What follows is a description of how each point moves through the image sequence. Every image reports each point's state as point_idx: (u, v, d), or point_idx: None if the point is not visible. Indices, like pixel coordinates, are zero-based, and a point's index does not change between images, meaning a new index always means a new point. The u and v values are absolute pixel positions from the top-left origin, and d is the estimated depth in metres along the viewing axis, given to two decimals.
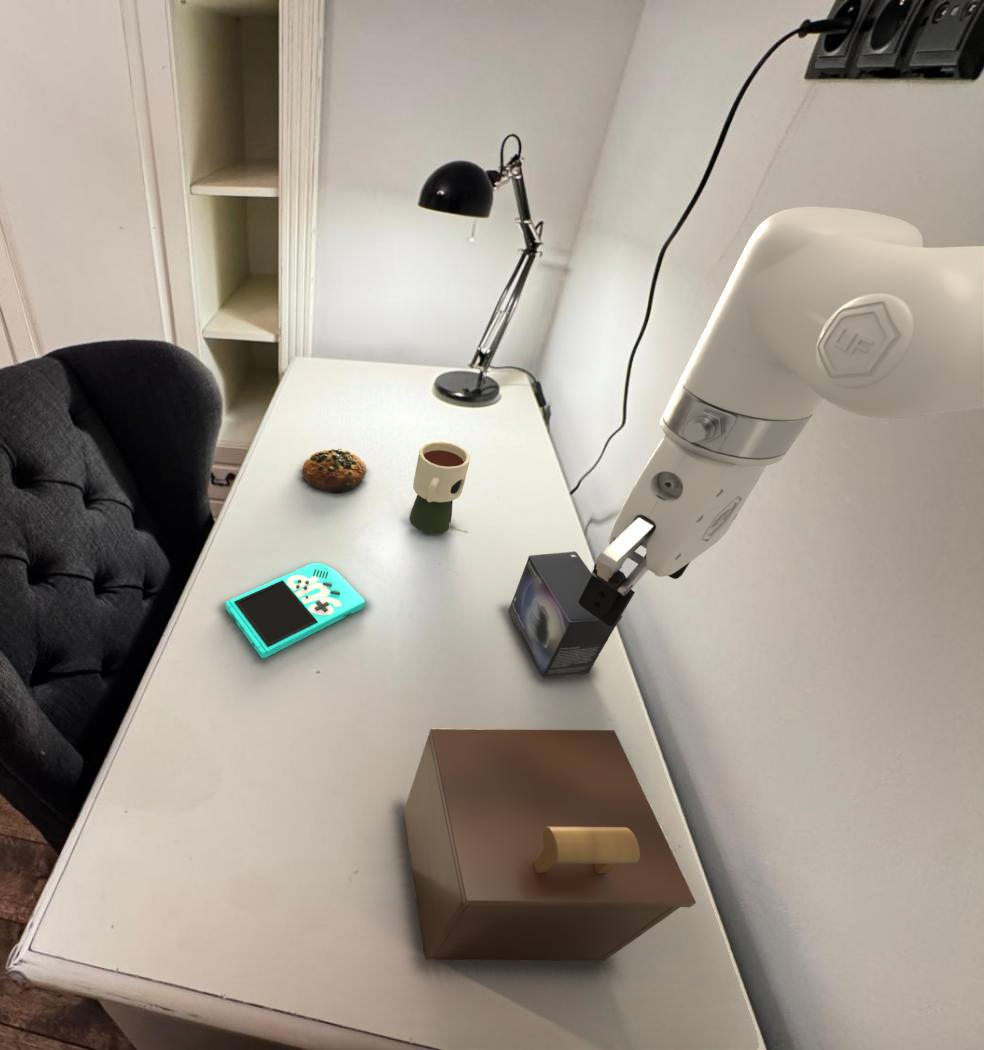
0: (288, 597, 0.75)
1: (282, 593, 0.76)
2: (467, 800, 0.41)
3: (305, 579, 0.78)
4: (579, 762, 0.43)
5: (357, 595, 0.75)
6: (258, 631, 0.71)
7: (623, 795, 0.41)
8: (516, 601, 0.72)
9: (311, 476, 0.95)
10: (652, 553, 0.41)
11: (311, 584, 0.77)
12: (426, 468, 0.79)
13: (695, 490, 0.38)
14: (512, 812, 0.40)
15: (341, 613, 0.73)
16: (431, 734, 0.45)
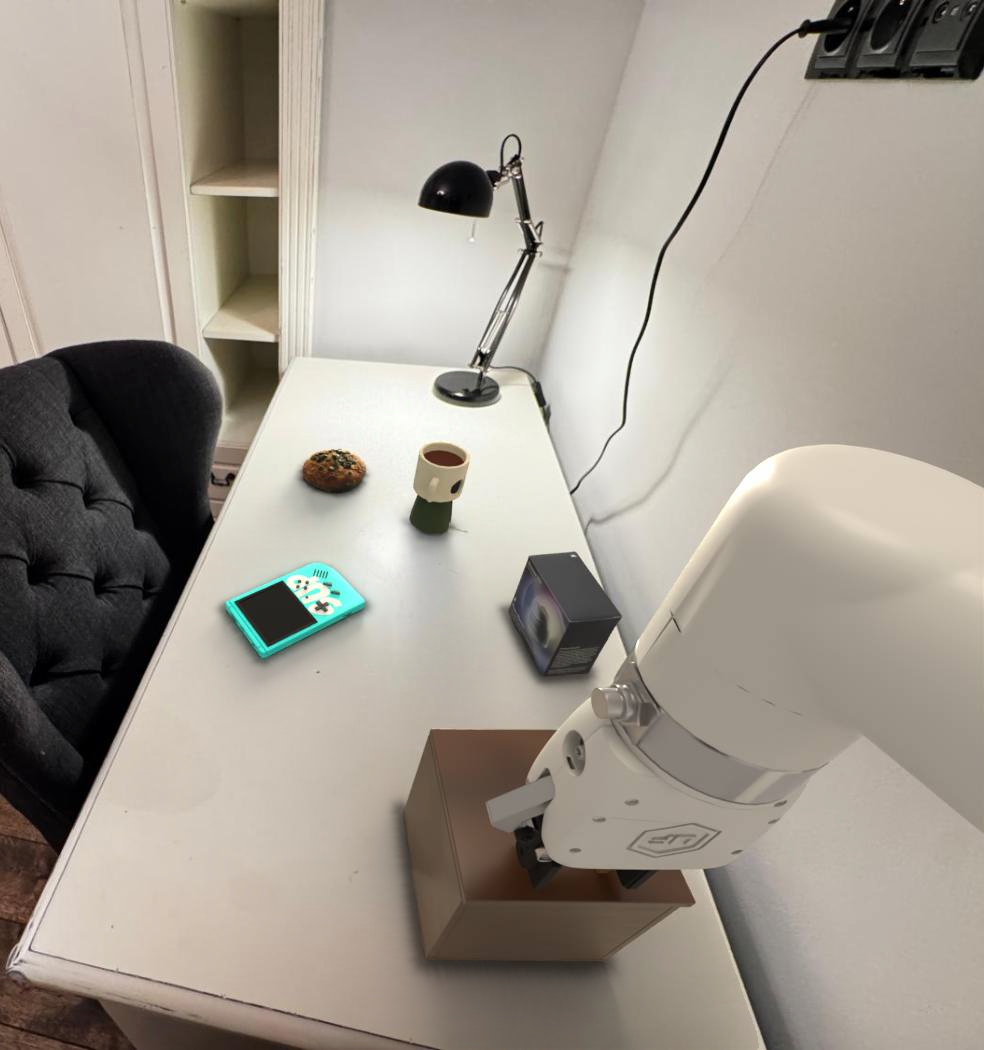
0: (288, 597, 0.75)
1: (282, 593, 0.76)
2: (467, 800, 0.41)
3: (305, 579, 0.78)
4: None
5: (357, 595, 0.75)
6: (258, 631, 0.71)
7: None
8: (516, 601, 0.72)
9: (311, 476, 0.95)
10: None
11: (311, 584, 0.77)
12: (426, 468, 0.79)
13: (595, 779, 0.26)
14: None
15: (341, 613, 0.73)
16: (431, 734, 0.45)
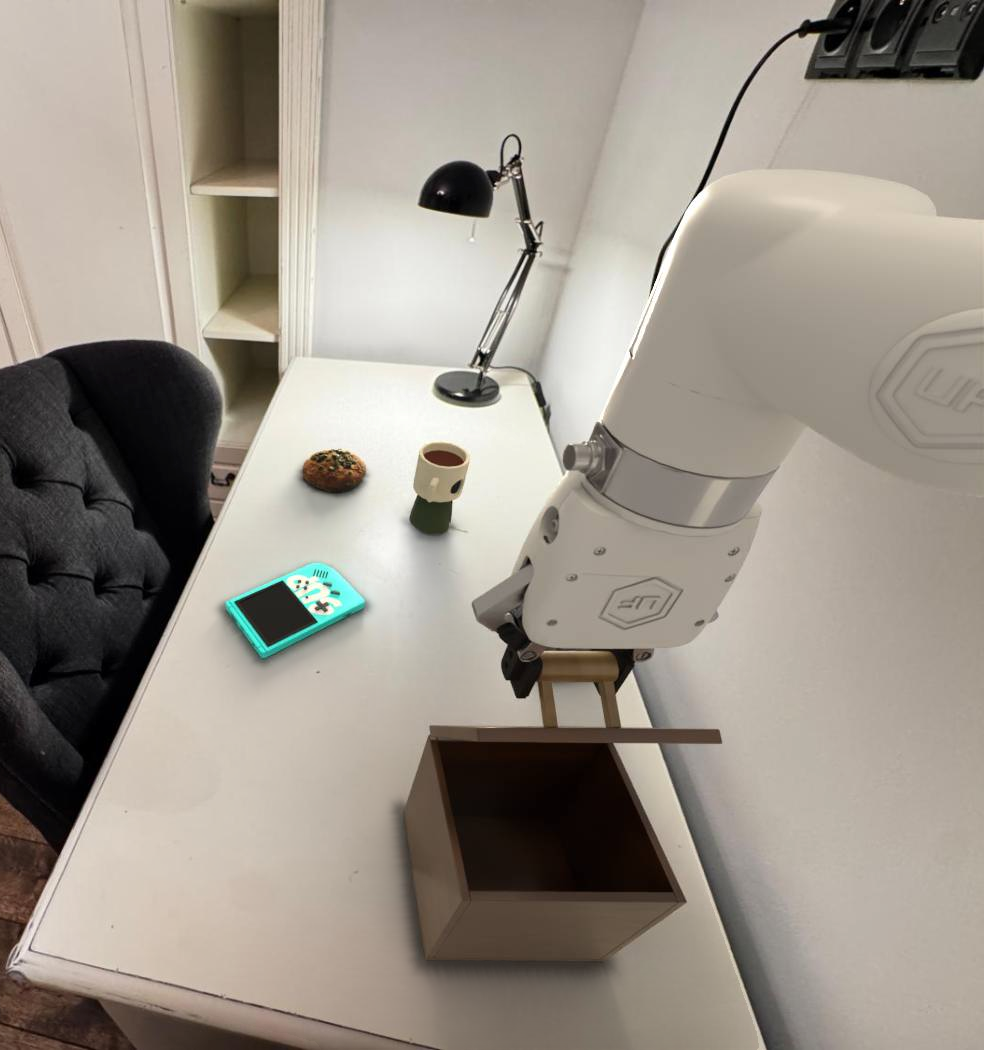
0: (288, 597, 0.75)
1: (282, 593, 0.76)
2: None
3: (305, 579, 0.78)
4: None
5: (357, 595, 0.75)
6: (258, 631, 0.71)
7: None
8: None
9: (311, 476, 0.95)
10: None
11: (311, 584, 0.77)
12: (426, 468, 0.79)
13: (567, 536, 0.29)
14: None
15: (341, 613, 0.73)
16: (430, 727, 0.45)
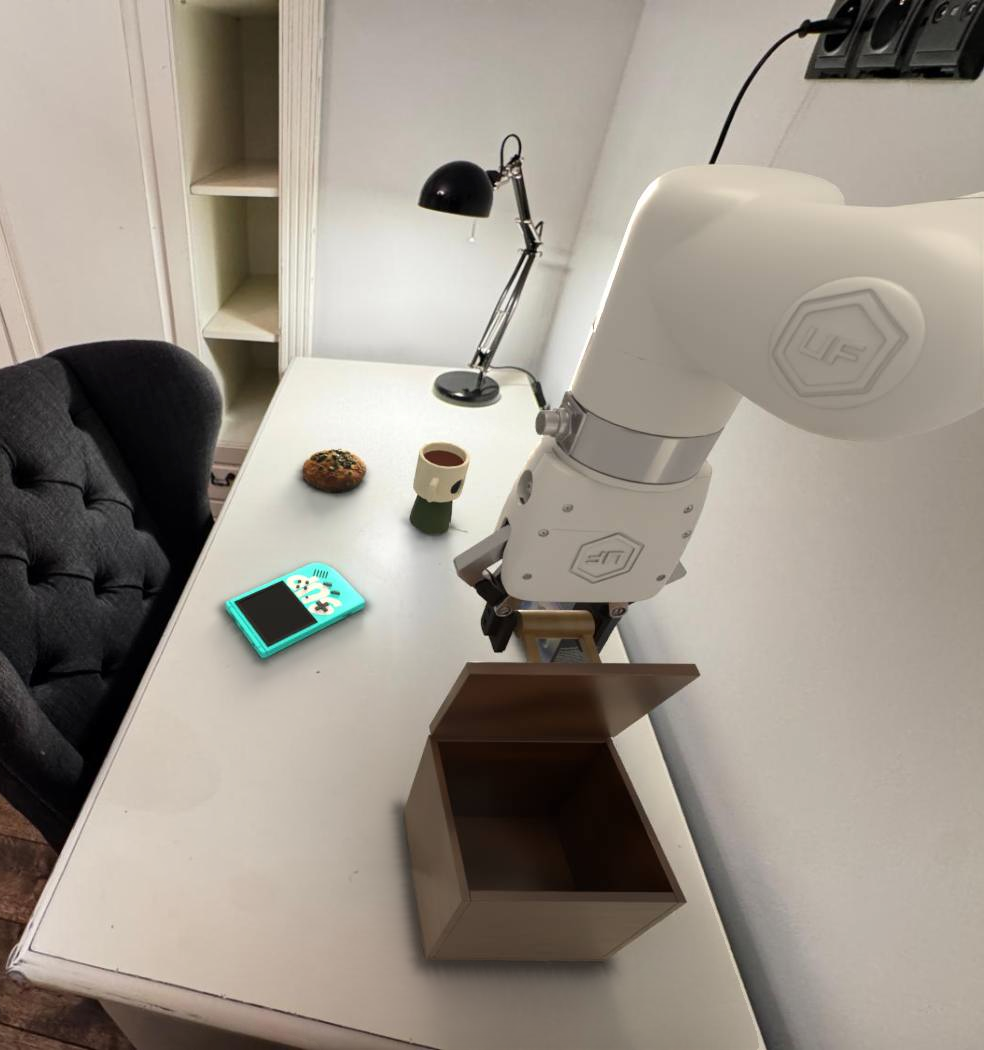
0: (288, 597, 0.75)
1: (282, 593, 0.76)
2: None
3: (305, 579, 0.78)
4: None
5: (357, 595, 0.75)
6: (258, 631, 0.71)
7: None
8: None
9: (311, 476, 0.95)
10: None
11: (311, 584, 0.77)
12: (426, 468, 0.79)
13: (539, 495, 0.32)
14: None
15: (341, 613, 0.73)
16: (430, 725, 0.45)
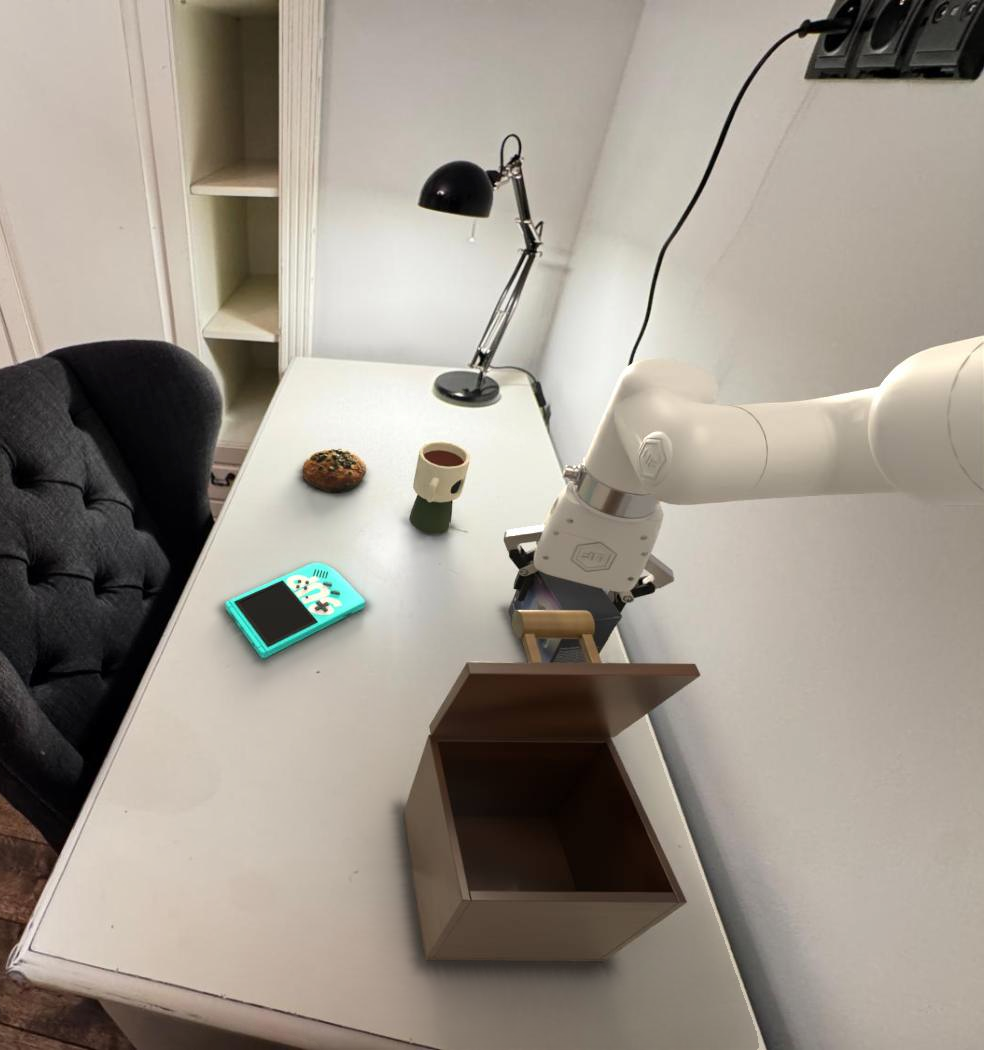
0: (288, 597, 0.75)
1: (282, 593, 0.76)
2: None
3: (305, 579, 0.78)
4: None
5: (357, 595, 0.75)
6: (258, 631, 0.71)
7: None
8: (516, 601, 0.72)
9: (311, 476, 0.95)
10: (536, 550, 0.62)
11: (311, 584, 0.77)
12: (426, 468, 0.79)
13: (557, 511, 0.58)
14: None
15: (341, 613, 0.73)
16: (430, 725, 0.45)
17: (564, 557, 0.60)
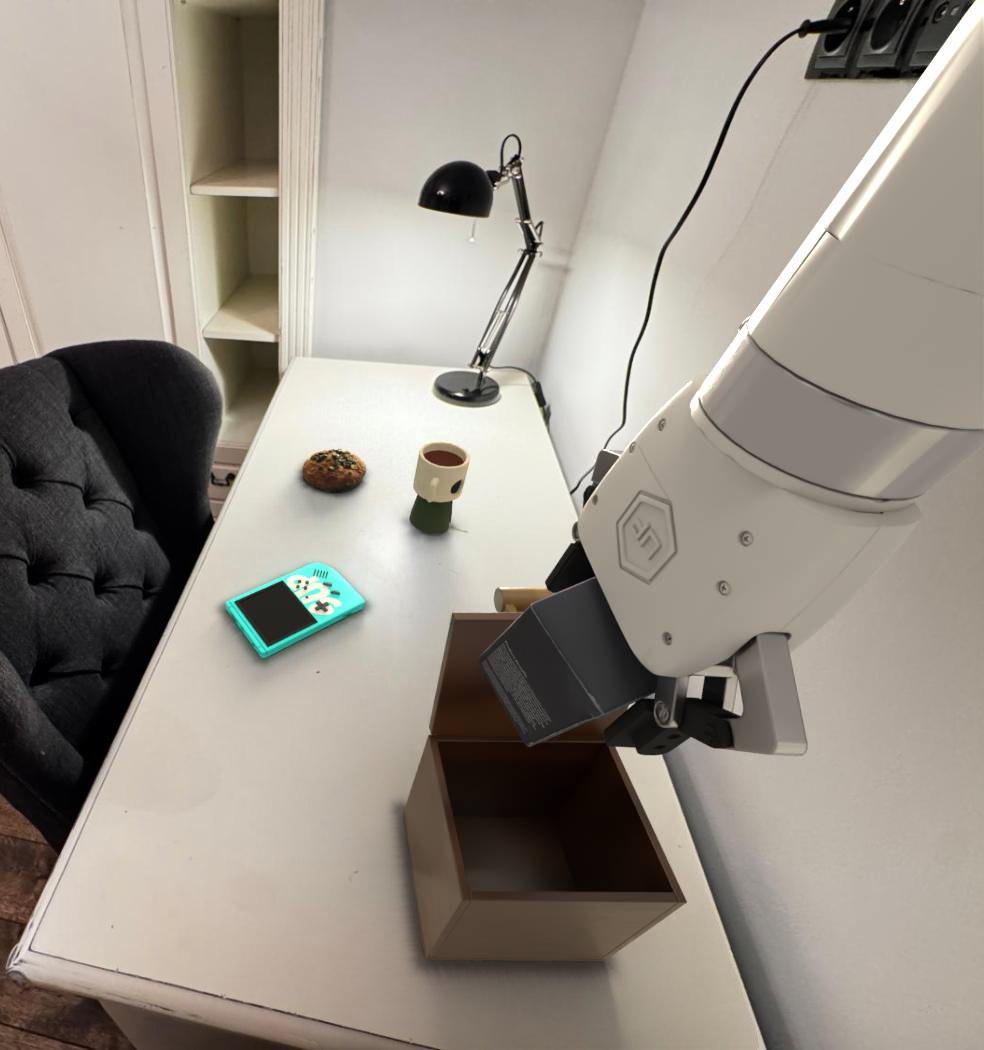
0: (288, 597, 0.75)
1: (282, 593, 0.76)
2: None
3: (305, 579, 0.78)
4: None
5: (357, 595, 0.75)
6: (258, 631, 0.71)
7: None
8: None
9: (311, 476, 0.95)
10: None
11: (311, 584, 0.77)
12: (426, 468, 0.79)
13: None
14: None
15: (341, 613, 0.73)
16: (429, 724, 0.46)
17: (612, 513, 0.28)
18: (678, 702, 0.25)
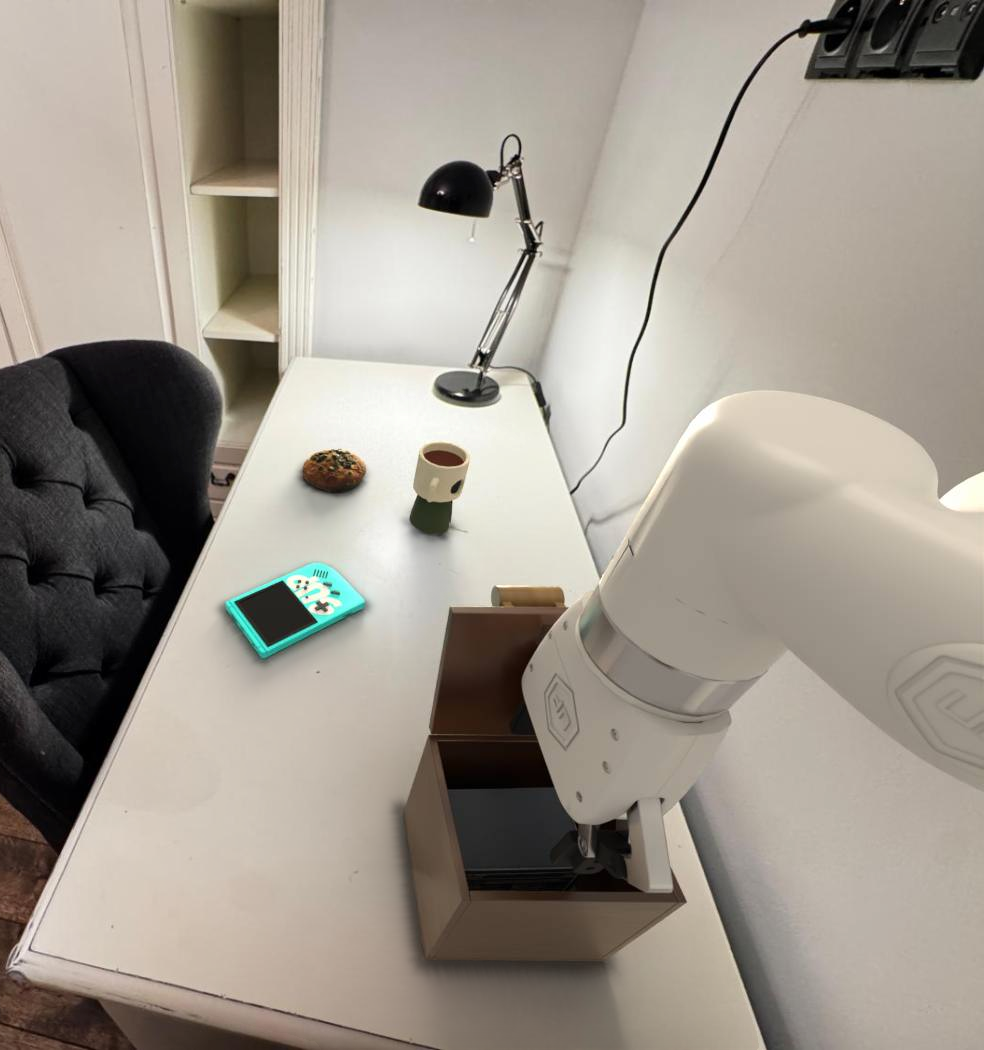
0: (288, 597, 0.75)
1: (282, 593, 0.76)
2: None
3: (305, 579, 0.78)
4: None
5: (357, 595, 0.75)
6: (258, 631, 0.71)
7: None
8: None
9: (311, 476, 0.95)
10: None
11: (311, 584, 0.77)
12: (426, 468, 0.79)
13: None
14: None
15: (341, 613, 0.73)
16: (429, 724, 0.46)
17: (541, 683, 0.35)
18: (592, 838, 0.32)
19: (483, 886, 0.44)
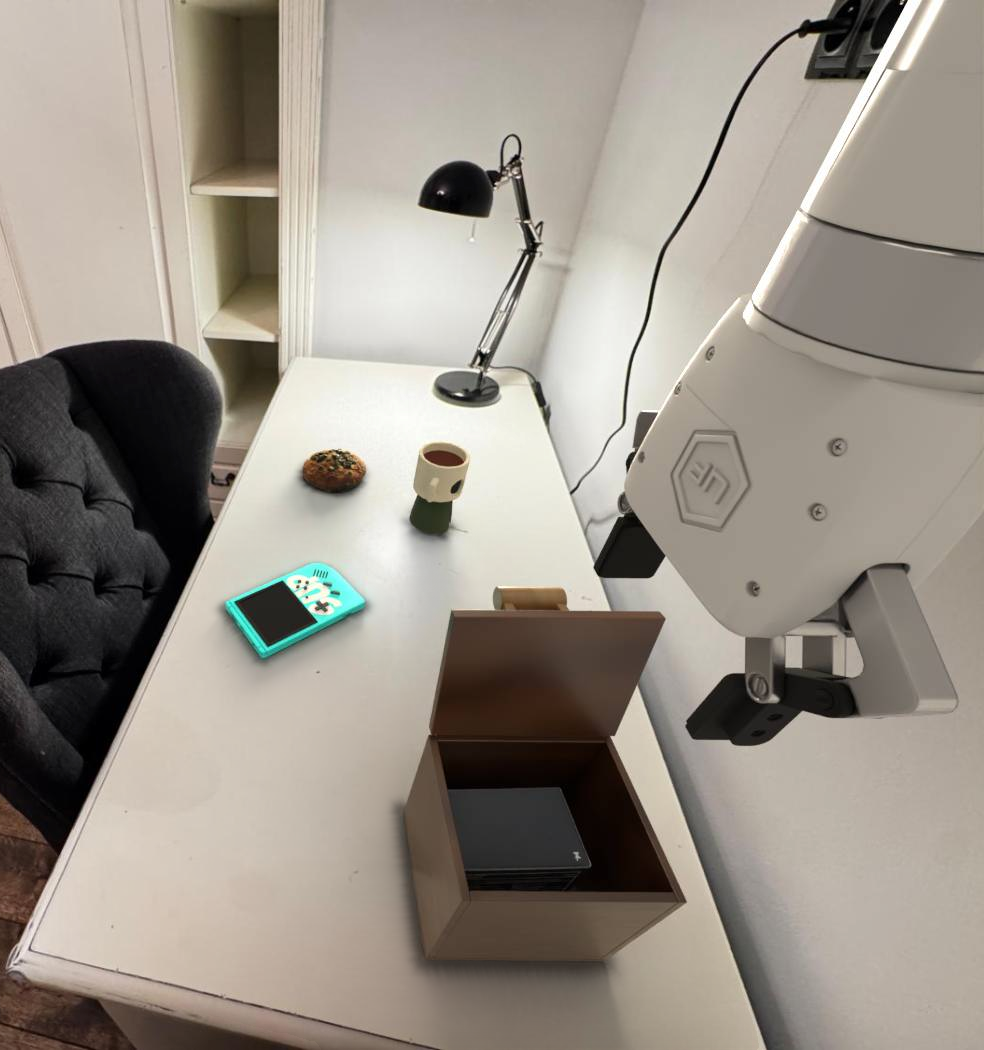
0: (288, 597, 0.75)
1: (282, 593, 0.76)
2: None
3: (305, 579, 0.78)
4: None
5: (357, 595, 0.75)
6: (258, 631, 0.71)
7: None
8: None
9: (311, 476, 0.95)
10: None
11: (311, 584, 0.77)
12: (426, 468, 0.79)
13: None
14: None
15: (341, 613, 0.73)
16: (429, 724, 0.46)
17: (664, 464, 0.24)
18: (776, 669, 0.21)
19: (483, 886, 0.44)
